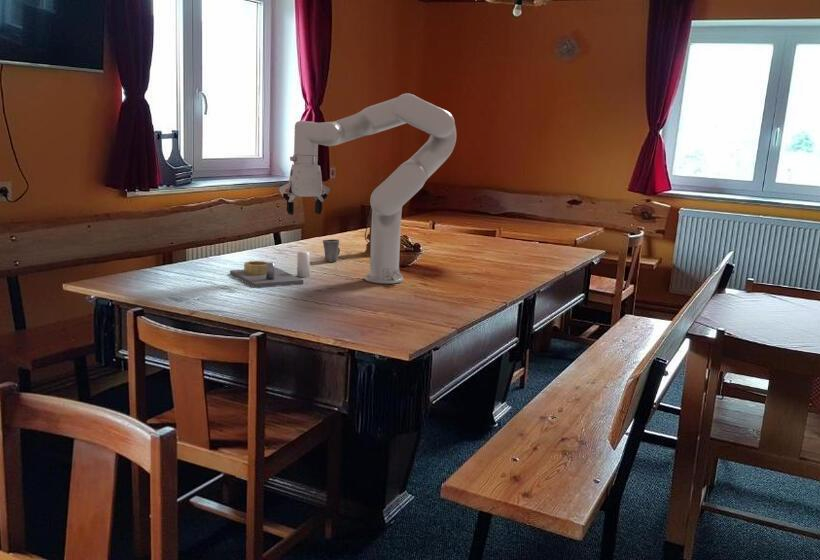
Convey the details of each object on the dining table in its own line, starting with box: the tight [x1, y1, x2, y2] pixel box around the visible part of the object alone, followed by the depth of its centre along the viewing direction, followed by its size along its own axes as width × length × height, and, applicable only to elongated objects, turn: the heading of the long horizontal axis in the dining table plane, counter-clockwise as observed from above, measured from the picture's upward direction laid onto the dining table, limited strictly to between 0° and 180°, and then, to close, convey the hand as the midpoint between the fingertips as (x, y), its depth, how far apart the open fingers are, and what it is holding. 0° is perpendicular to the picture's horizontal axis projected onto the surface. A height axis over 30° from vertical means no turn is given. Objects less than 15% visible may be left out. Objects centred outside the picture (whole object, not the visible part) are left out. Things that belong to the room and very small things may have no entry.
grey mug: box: [322, 238, 341, 263], centre depth 276 cm, size 6×13×8 cm, turn 174°
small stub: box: [266, 261, 276, 280], centre depth 232 cm, size 3×3×5 cm
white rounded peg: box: [296, 250, 311, 278], centre depth 244 cm, size 4×4×8 cm
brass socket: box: [243, 260, 269, 275], centre depth 241 cm, size 8×8×3 cm
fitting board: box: [229, 266, 304, 288], centre depth 238 cm, size 22×16×1 cm
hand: (304, 213), depth 241 cm, fingers open, 9 cm apart
